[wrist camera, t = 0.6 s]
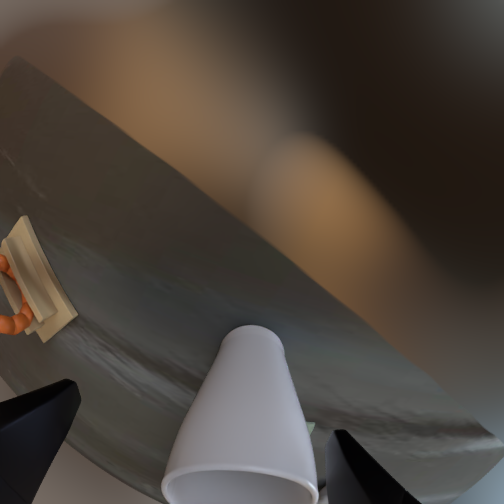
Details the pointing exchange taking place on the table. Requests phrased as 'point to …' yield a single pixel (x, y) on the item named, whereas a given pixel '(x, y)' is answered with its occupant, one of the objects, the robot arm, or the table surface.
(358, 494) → the robot arm
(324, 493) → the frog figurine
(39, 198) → the table surface
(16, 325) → the ring
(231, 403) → the drinking glass
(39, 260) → the stand
